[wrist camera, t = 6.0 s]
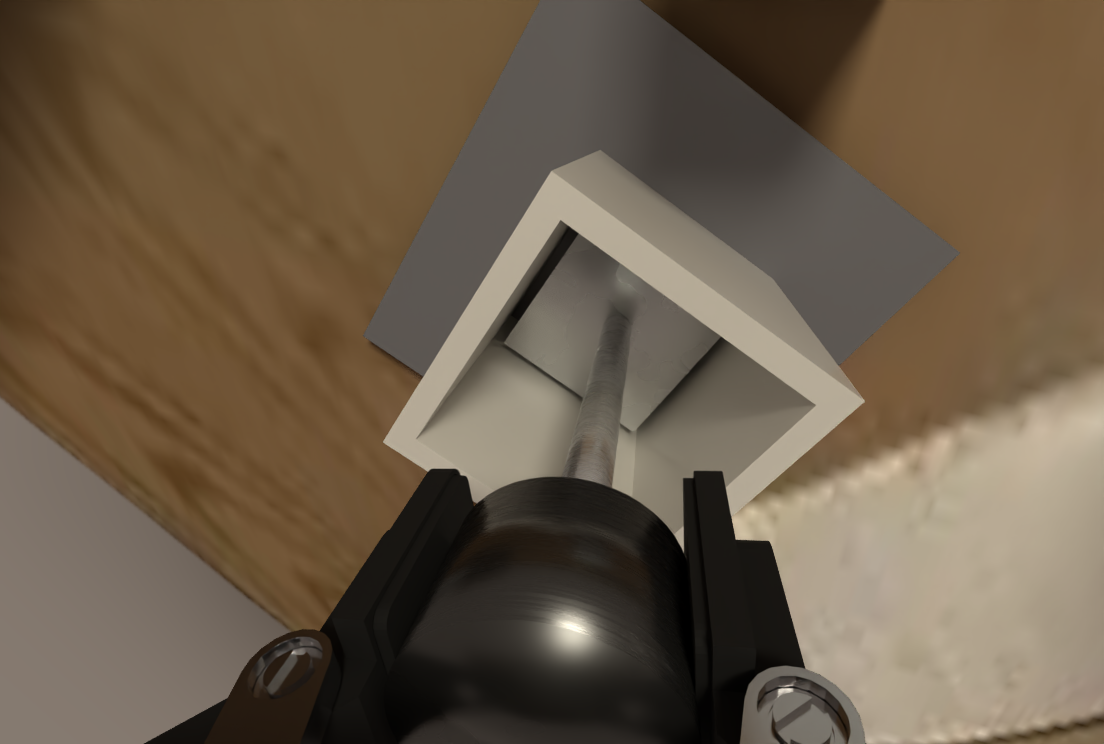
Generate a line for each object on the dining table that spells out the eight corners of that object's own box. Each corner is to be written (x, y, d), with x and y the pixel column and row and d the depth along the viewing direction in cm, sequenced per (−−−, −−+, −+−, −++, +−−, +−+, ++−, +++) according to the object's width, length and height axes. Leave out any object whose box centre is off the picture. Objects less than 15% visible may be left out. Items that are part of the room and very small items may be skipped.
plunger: (740, 306, 22) (949, 762, 6) (634, 423, 25) (594, 926, 9) (599, 203, 21) (437, 424, 5) (508, 336, 24) (236, 721, 9)
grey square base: (946, 247, 24) (1236, 369, 12) (657, 519, 32) (657, 747, 20) (573, -47, 22) (472, -252, 10) (373, 328, 30) (191, 458, 18)
